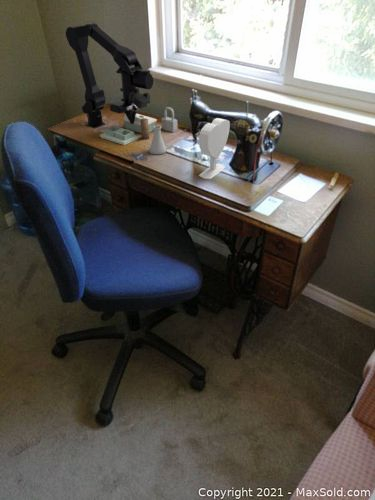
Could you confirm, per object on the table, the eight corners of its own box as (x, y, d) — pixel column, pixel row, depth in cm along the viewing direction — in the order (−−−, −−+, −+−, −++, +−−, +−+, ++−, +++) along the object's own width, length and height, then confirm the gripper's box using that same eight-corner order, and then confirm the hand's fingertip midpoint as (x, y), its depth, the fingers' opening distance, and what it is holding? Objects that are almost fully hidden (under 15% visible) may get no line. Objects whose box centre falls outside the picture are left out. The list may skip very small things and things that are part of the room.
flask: (168, 148, 153) (167, 123, 147) (165, 155, 147) (165, 130, 141) (150, 147, 153) (149, 123, 147) (147, 154, 148) (146, 129, 142)
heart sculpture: (216, 161, 143) (219, 114, 132) (228, 164, 141) (232, 117, 130) (195, 177, 133) (197, 127, 122) (208, 181, 131) (210, 130, 120)
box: (125, 128, 170) (124, 120, 167) (137, 123, 175) (136, 115, 172) (144, 134, 164) (144, 126, 162) (156, 129, 169) (156, 121, 167)
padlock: (178, 130, 168) (178, 107, 162) (172, 133, 166) (172, 110, 160) (166, 126, 172) (165, 104, 165) (160, 129, 169) (159, 106, 163)
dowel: (140, 138, 160) (138, 119, 155) (145, 136, 162) (143, 117, 158) (145, 140, 159) (144, 121, 154) (150, 138, 161) (149, 119, 156)
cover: (123, 120, 167) (123, 113, 165) (136, 115, 173) (135, 109, 171) (144, 126, 161) (143, 119, 160) (156, 121, 167) (156, 114, 165)
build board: (100, 137, 161) (99, 129, 159) (115, 131, 167) (114, 123, 165) (124, 145, 155) (123, 137, 153) (138, 138, 160) (138, 131, 158)
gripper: (127, 94, 143) (130, 134, 153) (159, 84, 155) (160, 121, 164) (107, 89, 148) (111, 128, 158) (139, 79, 160) (141, 116, 170)
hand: (132, 123), depth 162 cm, fingers closed
